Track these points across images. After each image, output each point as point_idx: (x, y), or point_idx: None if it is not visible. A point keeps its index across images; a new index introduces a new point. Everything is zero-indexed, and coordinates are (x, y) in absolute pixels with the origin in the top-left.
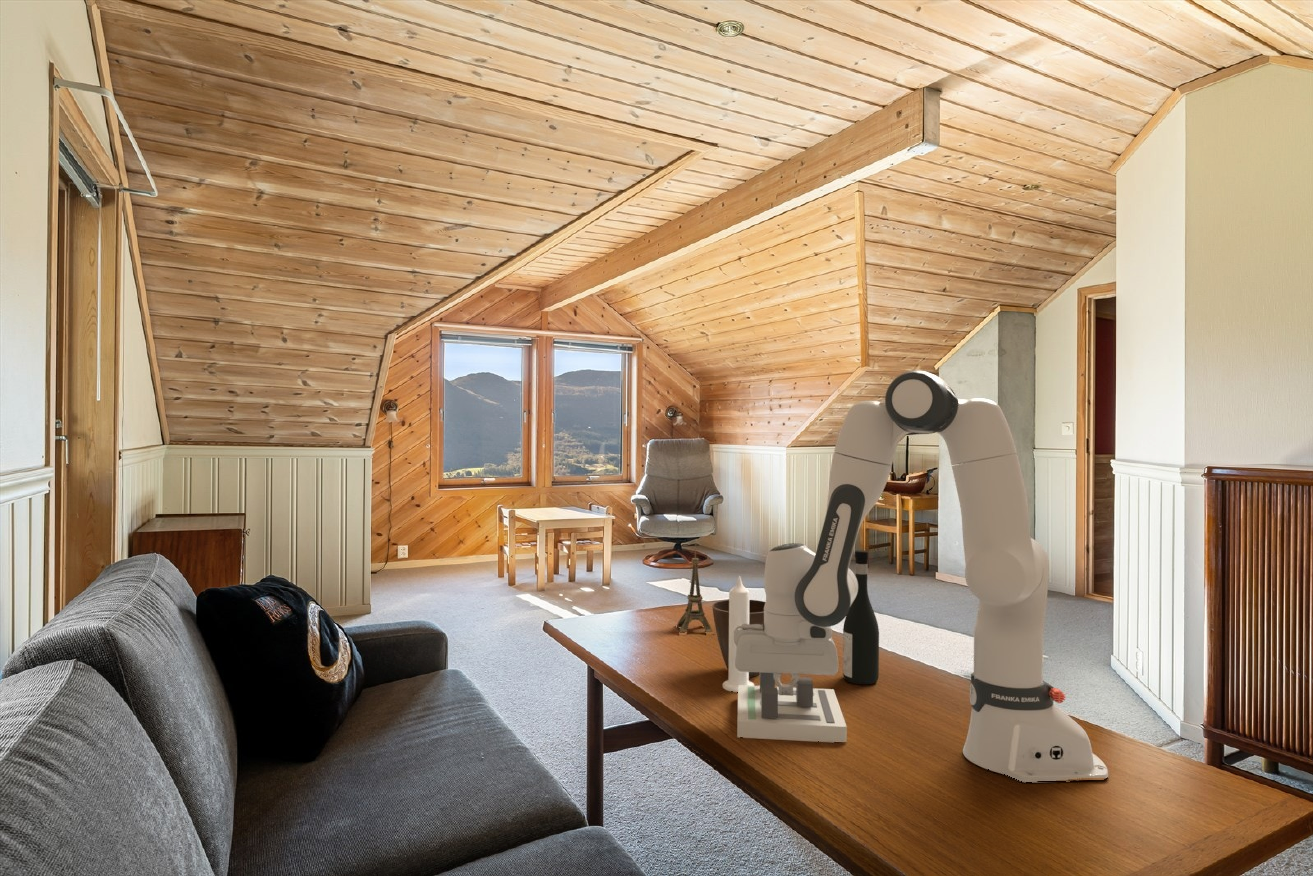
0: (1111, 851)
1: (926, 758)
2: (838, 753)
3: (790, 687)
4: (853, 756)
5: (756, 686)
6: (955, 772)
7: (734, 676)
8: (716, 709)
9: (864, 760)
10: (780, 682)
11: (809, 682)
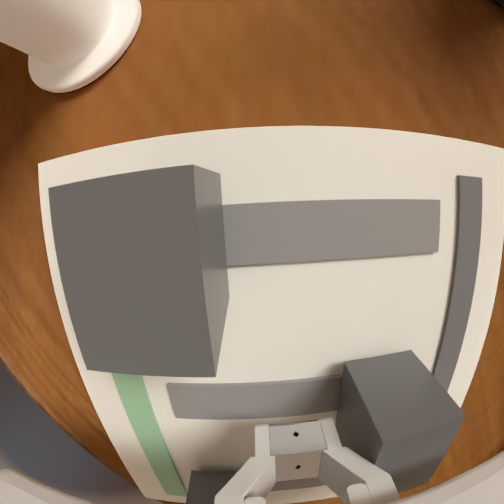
0: None
1: (498, 432)
2: None
3: (320, 476)
4: None
5: (116, 156)
6: (499, 449)
7: (31, 54)
8: (35, 296)
9: None
10: (266, 483)
11: (421, 476)
